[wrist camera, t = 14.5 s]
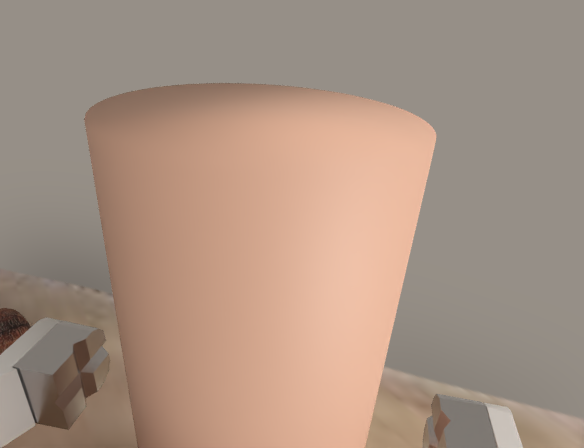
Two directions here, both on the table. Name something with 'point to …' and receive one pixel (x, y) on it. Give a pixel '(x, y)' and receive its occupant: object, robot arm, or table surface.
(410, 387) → the table surface
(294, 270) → the post
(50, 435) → the table surface
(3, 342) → the wooden tablet
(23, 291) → the table surface
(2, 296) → the table surface
